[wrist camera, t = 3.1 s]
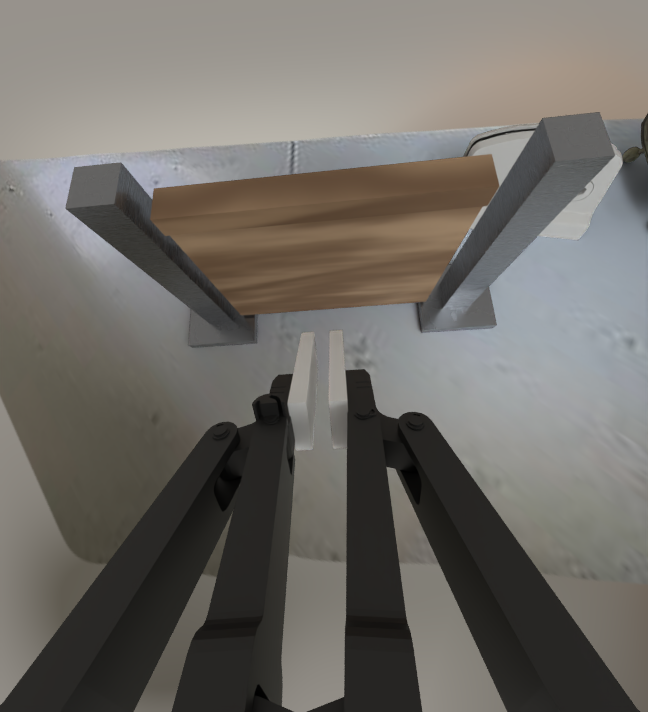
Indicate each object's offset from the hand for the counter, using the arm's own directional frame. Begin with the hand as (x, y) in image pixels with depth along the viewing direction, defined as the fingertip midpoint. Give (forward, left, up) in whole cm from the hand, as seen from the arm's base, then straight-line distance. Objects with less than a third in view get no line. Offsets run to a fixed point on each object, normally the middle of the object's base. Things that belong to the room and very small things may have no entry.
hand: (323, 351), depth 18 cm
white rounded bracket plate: (+15, -29, -16) cm, 36 cm away
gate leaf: (+10, -3, -15) cm, 18 cm away
